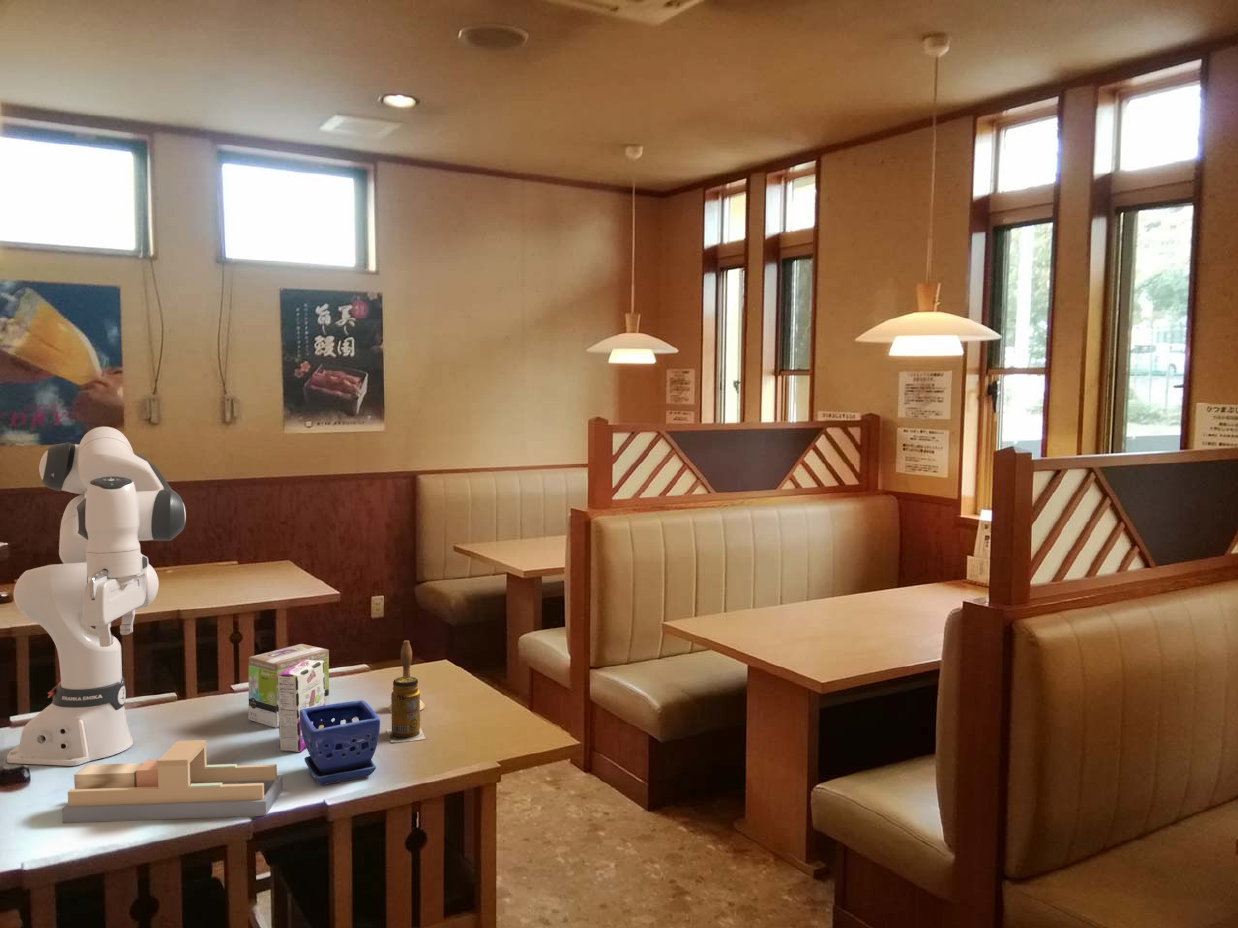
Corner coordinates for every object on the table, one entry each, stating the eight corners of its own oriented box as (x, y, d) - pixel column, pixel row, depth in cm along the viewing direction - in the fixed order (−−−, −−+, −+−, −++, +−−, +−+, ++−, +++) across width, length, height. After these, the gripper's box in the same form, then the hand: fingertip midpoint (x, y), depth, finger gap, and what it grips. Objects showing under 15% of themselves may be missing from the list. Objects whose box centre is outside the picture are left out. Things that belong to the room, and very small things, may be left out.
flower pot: (383, 778, 183) (382, 717, 182) (312, 792, 176) (311, 729, 175) (365, 755, 194) (364, 698, 193) (298, 767, 188) (296, 708, 187)
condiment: (419, 726, 211) (419, 673, 210) (425, 739, 203) (425, 684, 202) (386, 730, 209) (385, 676, 208) (390, 743, 201) (390, 687, 200)
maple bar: (75, 799, 166) (74, 774, 166) (86, 789, 171) (86, 764, 171) (134, 797, 167) (133, 772, 167) (144, 787, 172) (144, 762, 172)
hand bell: (385, 705, 226) (384, 638, 224) (420, 700, 229) (419, 635, 228) (392, 715, 218) (391, 647, 217) (428, 710, 222) (428, 643, 220)
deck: (62, 822, 163) (60, 765, 162) (93, 794, 175) (91, 741, 174) (266, 815, 166) (264, 759, 166) (283, 787, 178) (281, 735, 177)
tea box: (277, 729, 209) (275, 663, 208) (247, 720, 214) (246, 656, 213) (330, 710, 222) (329, 647, 221) (301, 702, 227) (300, 641, 226)
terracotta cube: (137, 798, 167) (136, 770, 167) (148, 786, 172) (147, 759, 172) (166, 797, 168) (165, 769, 167) (177, 785, 173) (176, 758, 172)
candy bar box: (305, 732, 207) (304, 658, 206) (327, 734, 206) (325, 659, 205) (277, 751, 196) (275, 673, 195) (299, 753, 195) (298, 674, 194)
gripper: (109, 574, 165) (112, 652, 166) (151, 556, 186) (154, 627, 186) (71, 575, 164) (74, 654, 165) (117, 557, 185) (119, 628, 185)
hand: (116, 639), depth 176 cm, fingers open, 8 cm apart
